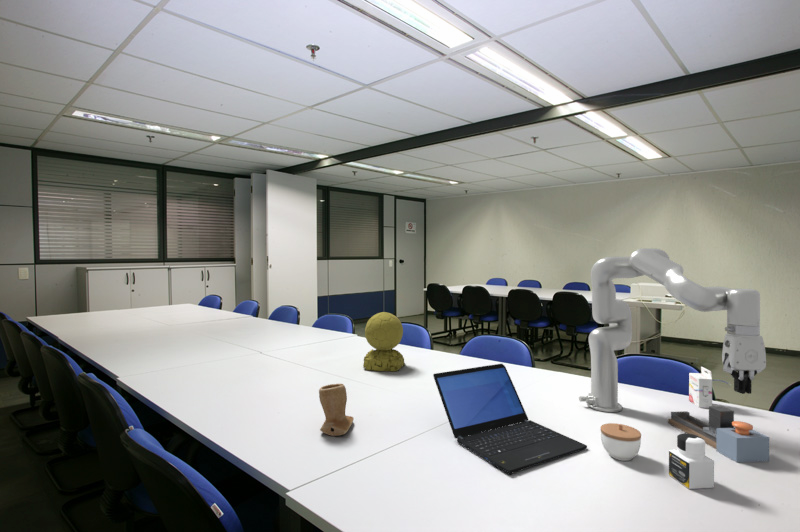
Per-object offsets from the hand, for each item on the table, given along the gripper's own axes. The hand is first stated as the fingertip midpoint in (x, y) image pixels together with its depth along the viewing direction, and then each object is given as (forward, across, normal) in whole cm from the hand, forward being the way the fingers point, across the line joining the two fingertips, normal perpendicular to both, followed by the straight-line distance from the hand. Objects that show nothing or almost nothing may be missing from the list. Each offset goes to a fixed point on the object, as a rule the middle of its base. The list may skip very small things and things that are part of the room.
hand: (742, 391), depth 122 cm
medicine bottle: (+19, -26, -12) cm, 35 cm away
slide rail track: (+19, 0, +14) cm, 24 cm away
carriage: (+17, 0, +8) cm, 19 cm away
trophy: (+19, -104, +112) cm, 154 cm away
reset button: (+13, 0, 0) cm, 13 cm away
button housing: (+19, 0, 0) cm, 19 cm away
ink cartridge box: (+19, +22, +42) cm, 52 cm away
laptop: (+20, -66, +17) cm, 71 cm away
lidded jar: (+19, -36, +2) cm, 41 cm away
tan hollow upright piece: (+19, -123, +28) cm, 128 cm away
